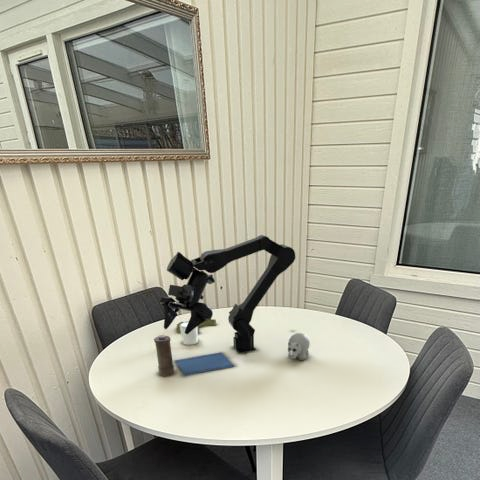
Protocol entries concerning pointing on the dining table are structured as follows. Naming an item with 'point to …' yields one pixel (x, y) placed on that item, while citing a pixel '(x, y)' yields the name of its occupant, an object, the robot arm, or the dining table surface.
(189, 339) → the white cylinder
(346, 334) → the dining table surface
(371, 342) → the dining table surface
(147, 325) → the dining table surface
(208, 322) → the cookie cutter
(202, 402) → the dining table surface
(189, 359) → the napkin
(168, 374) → the pepper mill
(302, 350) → the grey bear figurine
